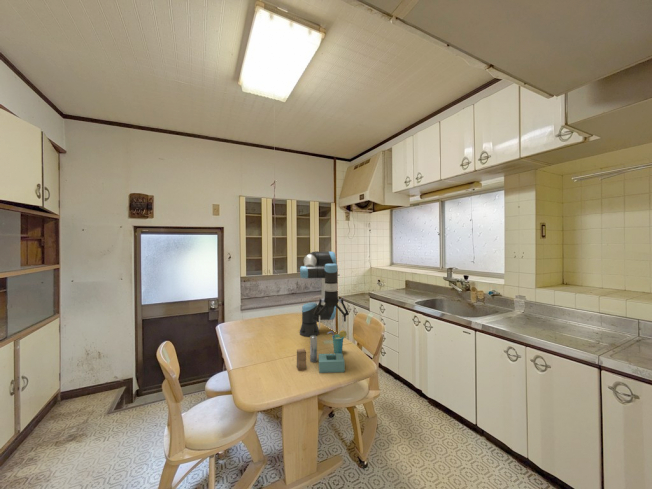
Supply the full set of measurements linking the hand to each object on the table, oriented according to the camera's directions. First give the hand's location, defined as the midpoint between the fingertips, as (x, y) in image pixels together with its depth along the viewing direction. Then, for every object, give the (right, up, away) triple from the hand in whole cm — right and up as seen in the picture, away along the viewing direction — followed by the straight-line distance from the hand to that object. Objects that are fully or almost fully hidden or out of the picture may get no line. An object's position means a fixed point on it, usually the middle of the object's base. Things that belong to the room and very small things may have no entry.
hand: (331, 327), depth 145 cm
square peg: (-17, -23, -1) cm, 28 cm away
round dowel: (-11, -23, +7) cm, 26 cm away
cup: (+4, -23, +18) cm, 29 cm away
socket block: (0, -23, -1) cm, 23 cm away
